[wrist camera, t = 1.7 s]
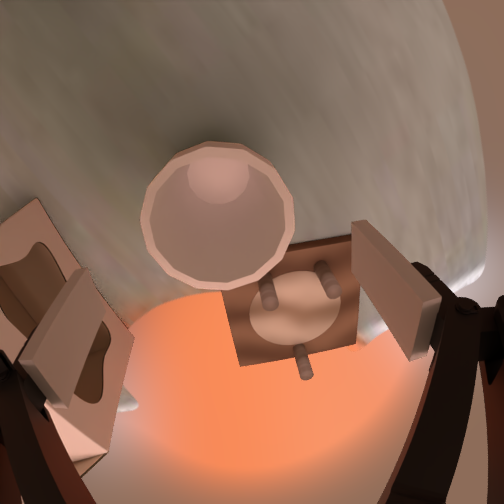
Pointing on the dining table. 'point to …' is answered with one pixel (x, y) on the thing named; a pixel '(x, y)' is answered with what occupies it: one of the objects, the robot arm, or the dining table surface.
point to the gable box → (32, 312)
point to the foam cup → (217, 216)
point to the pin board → (297, 306)
